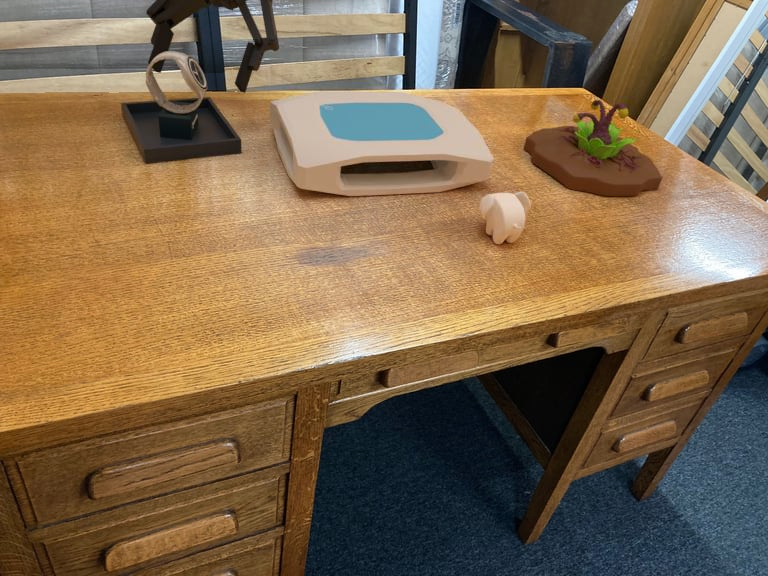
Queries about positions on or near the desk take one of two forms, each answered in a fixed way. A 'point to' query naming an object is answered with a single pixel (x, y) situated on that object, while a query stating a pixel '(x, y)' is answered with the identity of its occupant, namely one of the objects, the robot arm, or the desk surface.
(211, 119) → the tray
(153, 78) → the watch
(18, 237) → the desk surface
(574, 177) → the plant
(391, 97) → the document scanner
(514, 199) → the elephant figurine
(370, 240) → the desk surface
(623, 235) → the desk surface
